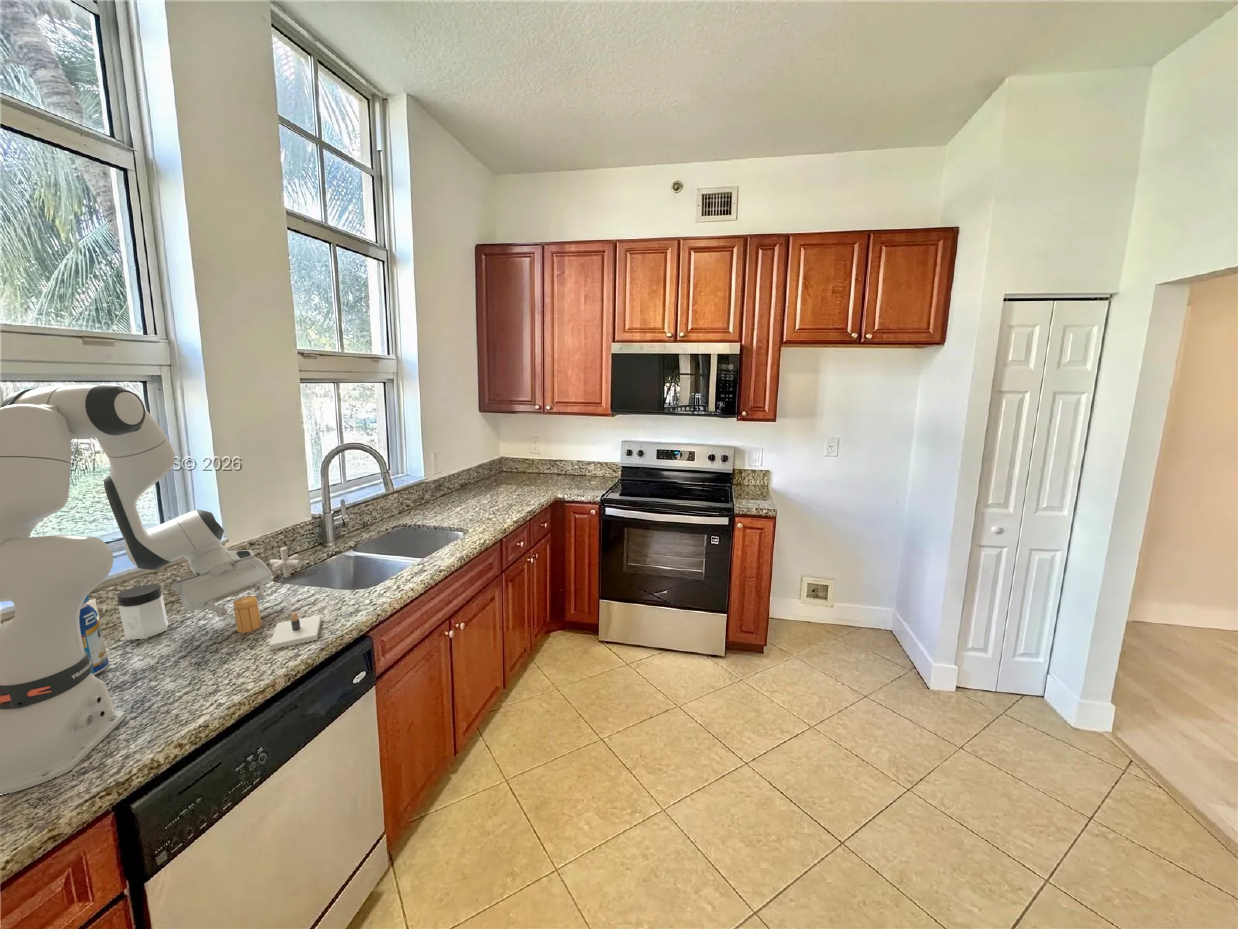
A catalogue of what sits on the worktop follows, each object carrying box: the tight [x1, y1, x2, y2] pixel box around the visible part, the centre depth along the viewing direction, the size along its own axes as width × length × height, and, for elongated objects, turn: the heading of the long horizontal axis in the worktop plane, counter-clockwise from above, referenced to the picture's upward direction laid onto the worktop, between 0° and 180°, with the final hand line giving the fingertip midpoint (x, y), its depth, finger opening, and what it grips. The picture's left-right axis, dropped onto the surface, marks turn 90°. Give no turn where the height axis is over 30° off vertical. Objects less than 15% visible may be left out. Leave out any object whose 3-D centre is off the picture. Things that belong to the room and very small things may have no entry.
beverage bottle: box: [79, 594, 110, 676], centre depth 111 cm, size 8×8×20 cm
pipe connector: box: [269, 546, 302, 578], centre depth 165 cm, size 10×10×10 cm
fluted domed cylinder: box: [233, 595, 263, 634], centre depth 131 cm, size 5×5×8 cm
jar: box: [116, 583, 169, 641], centre depth 129 cm, size 9×8×12 cm
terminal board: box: [268, 612, 322, 651], centre depth 128 cm, size 12×10×6 cm
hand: (243, 606), depth 132 cm, fingers open, 8 cm apart
